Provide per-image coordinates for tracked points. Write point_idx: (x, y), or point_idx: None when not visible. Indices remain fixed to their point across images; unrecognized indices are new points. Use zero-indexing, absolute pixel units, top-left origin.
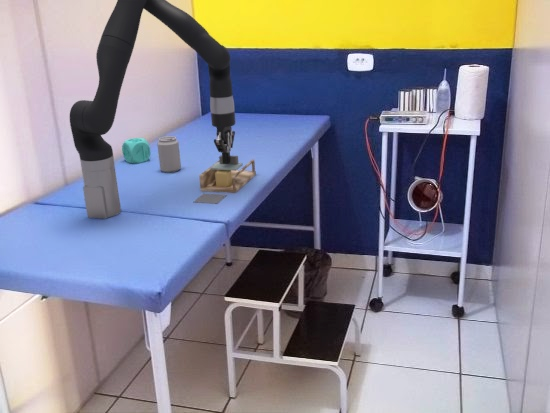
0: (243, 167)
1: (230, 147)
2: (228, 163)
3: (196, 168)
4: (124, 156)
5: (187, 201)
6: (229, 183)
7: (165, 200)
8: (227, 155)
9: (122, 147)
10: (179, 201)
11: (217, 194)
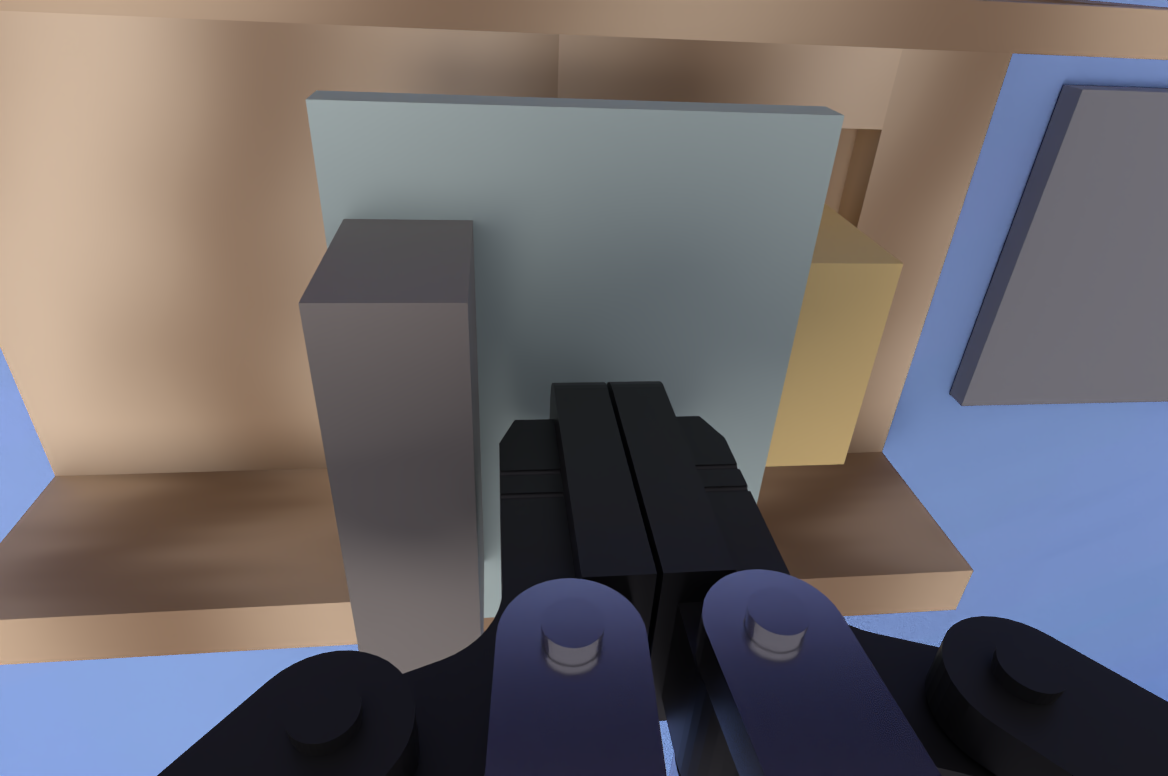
0: (468, 16)
1: (511, 705)
2: (656, 386)
3: (56, 771)
4: None
5: (1108, 463)
6: None
7: (1029, 625)
8: (707, 532)
9: None
10: (1087, 524)
11: (1039, 230)
